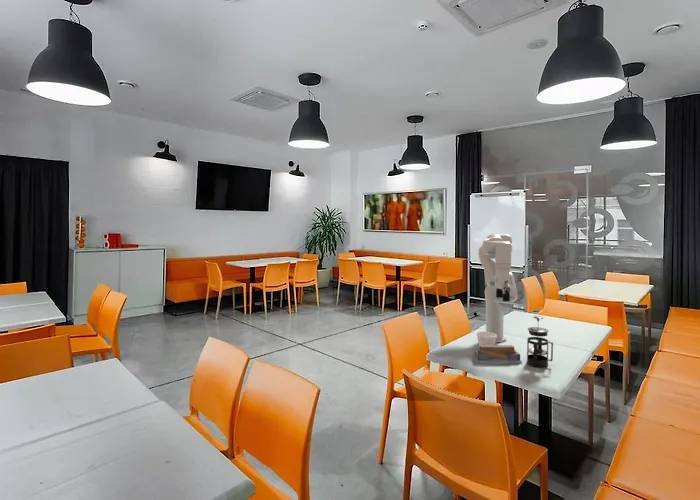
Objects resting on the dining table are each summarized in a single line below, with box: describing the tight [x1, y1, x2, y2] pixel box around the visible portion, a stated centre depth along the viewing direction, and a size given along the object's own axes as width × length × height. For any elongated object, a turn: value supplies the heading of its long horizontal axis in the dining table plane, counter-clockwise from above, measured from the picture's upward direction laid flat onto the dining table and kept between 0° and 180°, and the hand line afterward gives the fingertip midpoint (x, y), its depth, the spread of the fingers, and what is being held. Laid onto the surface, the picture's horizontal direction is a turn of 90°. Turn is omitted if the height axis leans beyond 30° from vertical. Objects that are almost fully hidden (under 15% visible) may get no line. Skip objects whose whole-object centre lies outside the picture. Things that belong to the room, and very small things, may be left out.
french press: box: [526, 315, 554, 369], centre depth 183 cm, size 12×9×23 cm
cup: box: [476, 331, 497, 346], centre depth 203 cm, size 10×10×9 cm
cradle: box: [472, 349, 523, 364], centre depth 191 cm, size 8×21×4 cm, turn 88°
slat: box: [478, 344, 515, 359], centre depth 191 cm, size 3×16×6 cm, turn 88°
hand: (502, 299), depth 198 cm, fingers open, 9 cm apart
